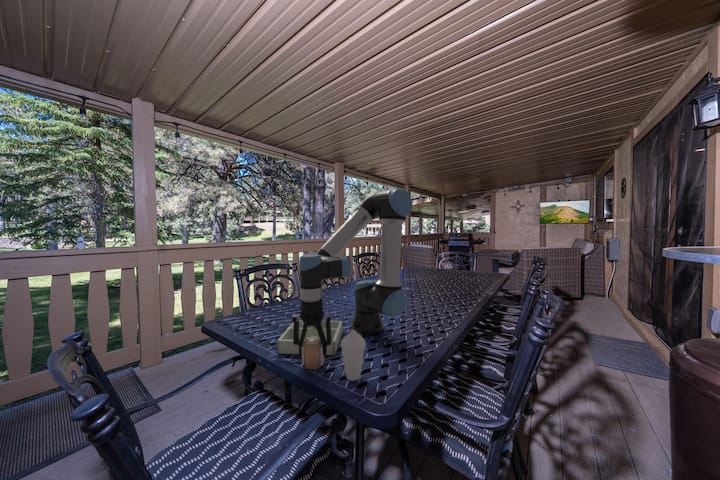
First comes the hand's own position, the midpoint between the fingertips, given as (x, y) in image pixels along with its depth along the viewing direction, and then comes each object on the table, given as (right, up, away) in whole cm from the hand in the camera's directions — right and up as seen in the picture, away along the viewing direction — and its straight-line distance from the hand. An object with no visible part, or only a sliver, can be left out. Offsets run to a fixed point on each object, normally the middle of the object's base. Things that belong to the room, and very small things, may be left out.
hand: (313, 363), depth 96 cm
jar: (0, -1, 0) cm, 1 cm away
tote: (-3, 0, +17) cm, 17 cm away
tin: (-3, +2, +23) cm, 23 cm away
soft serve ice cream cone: (+14, -1, -8) cm, 16 cm away
